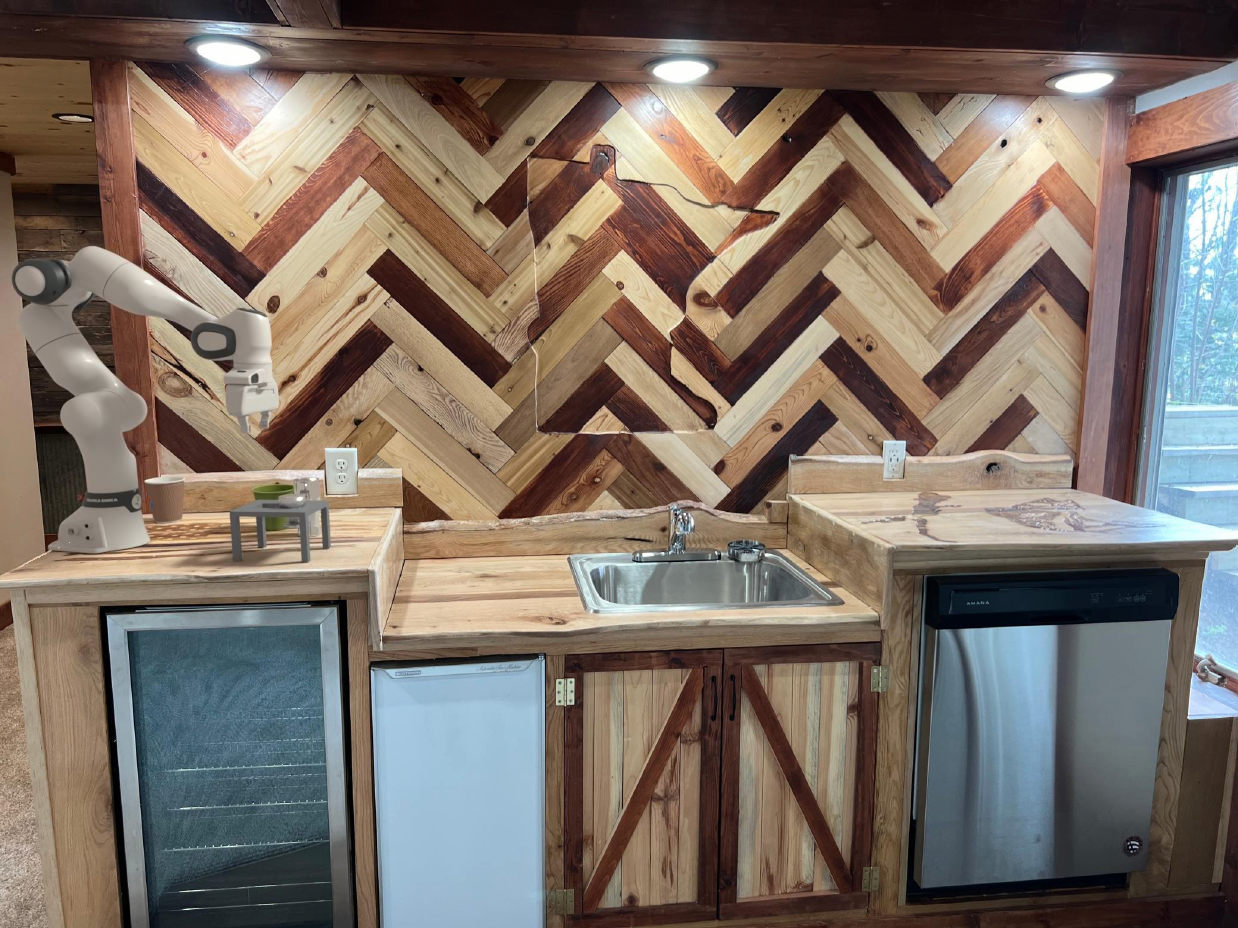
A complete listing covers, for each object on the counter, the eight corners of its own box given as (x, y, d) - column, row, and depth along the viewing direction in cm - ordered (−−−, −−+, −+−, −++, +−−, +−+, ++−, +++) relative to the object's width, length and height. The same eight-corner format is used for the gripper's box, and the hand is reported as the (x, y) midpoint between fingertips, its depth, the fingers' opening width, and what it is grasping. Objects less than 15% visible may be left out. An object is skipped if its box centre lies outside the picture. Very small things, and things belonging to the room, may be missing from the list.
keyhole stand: (233, 561, 199) (229, 511, 198) (260, 546, 213) (257, 499, 211) (308, 562, 199) (305, 512, 197) (331, 547, 212) (328, 500, 210)
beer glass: (327, 531, 229) (324, 477, 226) (316, 538, 222) (312, 481, 220) (302, 531, 230) (299, 476, 227) (290, 537, 223) (287, 481, 220)
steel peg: (276, 529, 202) (274, 498, 201) (287, 524, 208) (285, 493, 207) (300, 530, 202) (298, 498, 200) (311, 524, 208) (309, 493, 206)
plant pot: (244, 532, 228) (242, 491, 226) (268, 522, 240) (265, 483, 238) (286, 533, 227) (284, 492, 225) (307, 523, 238) (305, 484, 237)
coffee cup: (157, 517, 246) (153, 476, 245) (194, 516, 248) (190, 476, 246) (141, 525, 236) (137, 483, 234) (179, 524, 237) (176, 482, 236)
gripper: (261, 372, 220) (262, 425, 222) (219, 376, 200) (221, 434, 202) (284, 373, 220) (286, 426, 222) (245, 377, 199) (247, 436, 202)
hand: (255, 430), depth 212 cm, fingers open, 8 cm apart
